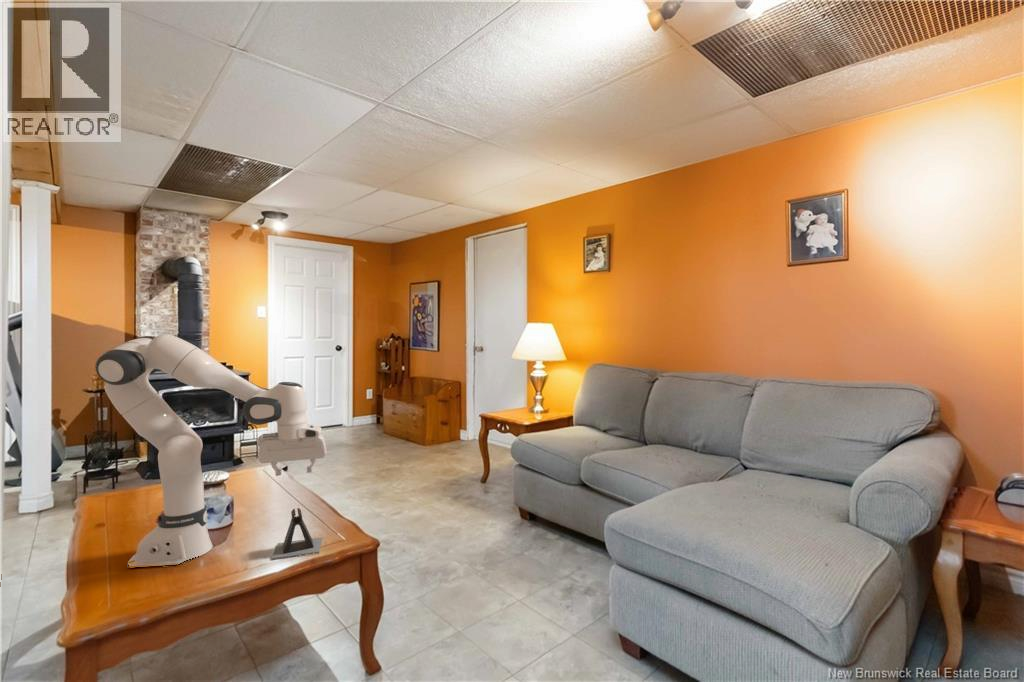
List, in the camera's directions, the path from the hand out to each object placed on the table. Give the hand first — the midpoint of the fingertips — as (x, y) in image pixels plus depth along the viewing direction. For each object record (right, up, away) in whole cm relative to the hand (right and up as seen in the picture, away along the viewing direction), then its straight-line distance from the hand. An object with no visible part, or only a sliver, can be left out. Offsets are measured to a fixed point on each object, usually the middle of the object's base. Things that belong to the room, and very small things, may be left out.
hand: (294, 473), depth 160 cm
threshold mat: (+1, -25, +1) cm, 25 cm away
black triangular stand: (+1, -25, +1) cm, 25 cm away
